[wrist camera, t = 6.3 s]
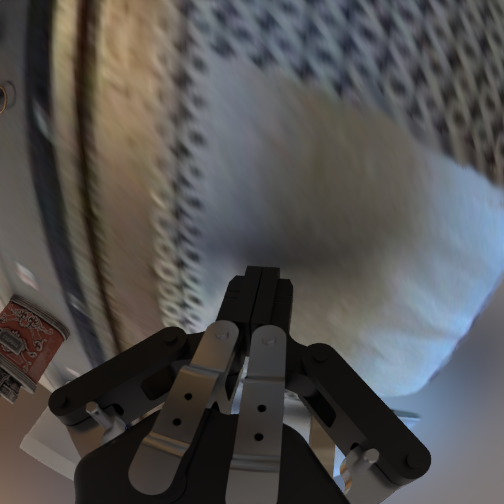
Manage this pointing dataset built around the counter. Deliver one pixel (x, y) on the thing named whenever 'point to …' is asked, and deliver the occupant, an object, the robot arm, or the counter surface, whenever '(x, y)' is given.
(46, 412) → the foam cup
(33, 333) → the lighter
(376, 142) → the counter surface
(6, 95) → the compass
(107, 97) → the counter surface
